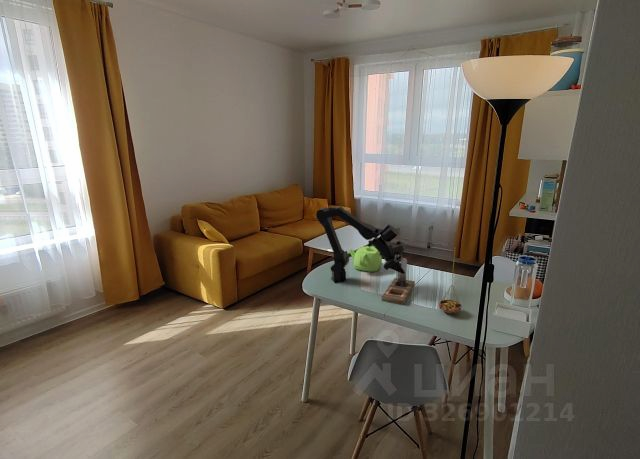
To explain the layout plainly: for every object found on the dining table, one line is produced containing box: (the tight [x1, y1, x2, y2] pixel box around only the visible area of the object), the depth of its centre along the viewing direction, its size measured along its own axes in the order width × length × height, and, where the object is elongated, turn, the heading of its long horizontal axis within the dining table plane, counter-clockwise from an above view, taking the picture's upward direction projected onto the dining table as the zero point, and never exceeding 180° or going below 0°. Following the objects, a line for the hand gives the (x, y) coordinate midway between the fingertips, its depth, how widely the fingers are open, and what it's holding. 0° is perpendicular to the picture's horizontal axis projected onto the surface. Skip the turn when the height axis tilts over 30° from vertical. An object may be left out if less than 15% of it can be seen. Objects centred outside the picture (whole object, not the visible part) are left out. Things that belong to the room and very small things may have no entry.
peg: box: [397, 257, 408, 287], centre depth 165 cm, size 4×4×13 cm
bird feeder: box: [438, 248, 462, 314], centre depth 141 cm, size 9×9×30 cm
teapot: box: [348, 245, 383, 273], centre depth 194 cm, size 18×20×13 cm
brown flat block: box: [381, 277, 416, 306], centre depth 163 cm, size 22×10×3 cm, turn 153°
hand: (405, 271), depth 165 cm, fingers closed on peg, 4 cm apart
